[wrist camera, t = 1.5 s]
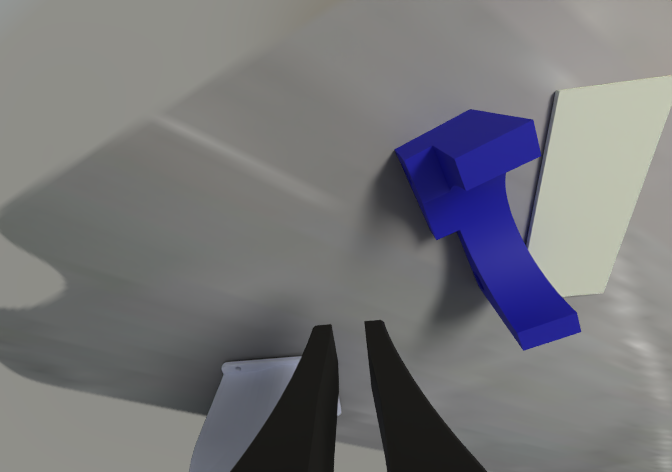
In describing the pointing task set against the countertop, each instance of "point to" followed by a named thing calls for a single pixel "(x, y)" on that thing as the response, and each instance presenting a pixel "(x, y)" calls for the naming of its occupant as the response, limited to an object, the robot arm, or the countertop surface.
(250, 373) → the robot arm
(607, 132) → the mat
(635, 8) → the countertop surface
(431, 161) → the cable clip
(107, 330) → the countertop surface
